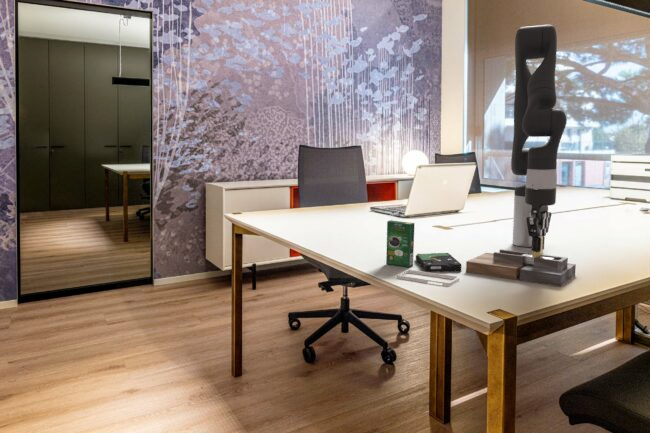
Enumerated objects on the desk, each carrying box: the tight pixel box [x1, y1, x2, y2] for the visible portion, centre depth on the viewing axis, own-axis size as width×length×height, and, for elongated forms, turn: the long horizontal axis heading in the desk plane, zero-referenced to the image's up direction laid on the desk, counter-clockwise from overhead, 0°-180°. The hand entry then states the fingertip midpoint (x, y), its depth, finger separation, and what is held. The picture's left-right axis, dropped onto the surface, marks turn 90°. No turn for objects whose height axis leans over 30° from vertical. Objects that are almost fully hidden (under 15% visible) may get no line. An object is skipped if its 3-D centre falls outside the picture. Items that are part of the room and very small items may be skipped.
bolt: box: [522, 236, 554, 265], centre depth 141 cm, size 2×8×8 cm, turn 51°
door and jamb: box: [465, 248, 577, 288], centre depth 145 cm, size 14×25×6 cm, turn 51°
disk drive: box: [415, 252, 462, 273], centre depth 155 cm, size 10×3×15 cm
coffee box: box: [385, 219, 415, 268], centre depth 156 cm, size 8×3×13 cm, turn 54°
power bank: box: [396, 269, 460, 287], centre depth 141 cm, size 7×1×15 cm
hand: (537, 250), depth 141 cm, fingers closed on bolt, 2 cm apart
